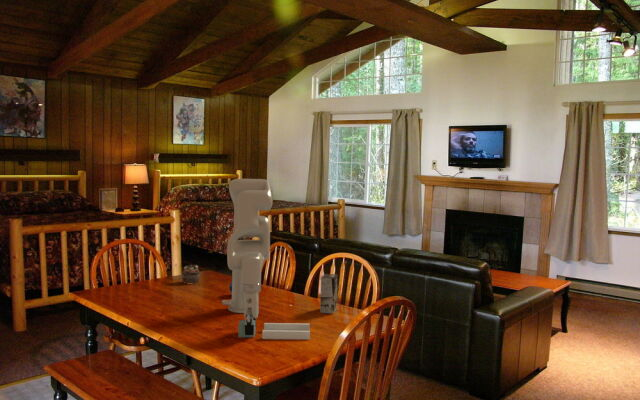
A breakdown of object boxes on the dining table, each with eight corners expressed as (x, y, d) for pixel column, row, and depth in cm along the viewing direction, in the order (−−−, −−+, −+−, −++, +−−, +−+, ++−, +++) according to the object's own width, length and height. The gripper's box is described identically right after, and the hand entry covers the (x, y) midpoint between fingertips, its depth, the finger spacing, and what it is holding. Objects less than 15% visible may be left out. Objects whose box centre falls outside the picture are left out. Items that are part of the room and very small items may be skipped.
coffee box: (333, 314, 241) (334, 278, 240) (319, 312, 242) (320, 277, 241) (337, 308, 250) (338, 274, 249) (323, 307, 251) (324, 273, 250)
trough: (262, 338, 205) (262, 331, 205) (264, 330, 215) (264, 323, 215) (309, 339, 206) (310, 331, 205) (309, 330, 216) (309, 323, 216)
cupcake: (202, 281, 299) (202, 263, 298) (194, 285, 290) (194, 266, 289) (186, 280, 301) (186, 262, 301) (178, 284, 292) (178, 265, 291)
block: (238, 337, 207) (238, 324, 206) (239, 332, 213) (240, 320, 212) (254, 337, 207) (254, 324, 207) (255, 332, 213) (255, 320, 212)
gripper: (258, 292, 200) (258, 338, 201) (262, 282, 217) (261, 324, 219) (238, 292, 200) (238, 338, 201) (243, 282, 217) (243, 324, 218)
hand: (250, 330), depth 210 cm, fingers open, 9 cm apart
